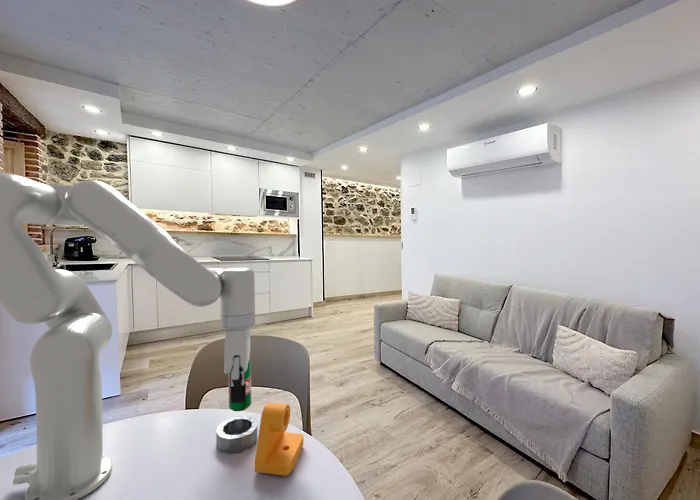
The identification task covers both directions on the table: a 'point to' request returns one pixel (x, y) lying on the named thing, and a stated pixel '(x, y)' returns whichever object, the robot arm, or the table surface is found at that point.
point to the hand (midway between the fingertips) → (239, 394)
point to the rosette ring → (236, 442)
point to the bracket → (277, 441)
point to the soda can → (247, 381)
